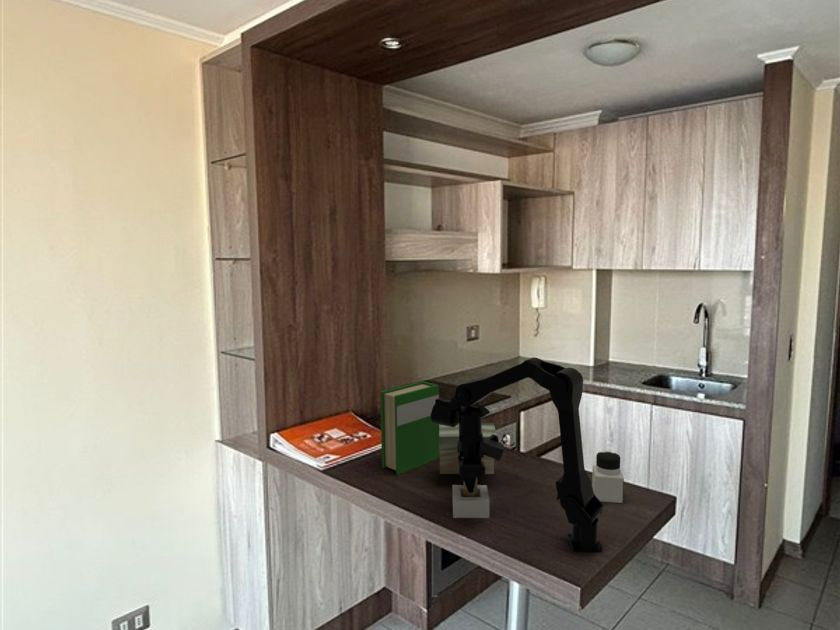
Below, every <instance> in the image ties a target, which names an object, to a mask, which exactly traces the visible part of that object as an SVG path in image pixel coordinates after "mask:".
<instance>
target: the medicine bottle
mask: <svg viewBox="0 0 840 630" xmlns="http://www.w3.org/2000/svg"><path fill="white" fill-rule="evenodd" d="M595 459H596V460H595V465H592V473H591V475H592V479H591V480H592V481H591V484H592V488H593V491H594V494H595V496H596V497H597V498H598V499H599V500H600V502H601V503H602V502H604V503H615V504H623V503H624V486H625V485H624V483H625V482H624V481H625V480H624V479H625V478H624V475H623V473H622V470H621V456H620V454H618V453H616V452H613V451H610V450H604V451H603V450H602V451H600V452H598V453H596V458H595Z"/></svg>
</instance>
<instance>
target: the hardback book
mask: <svg viewBox="0 0 840 630" xmlns="http://www.w3.org/2000/svg"><path fill="white" fill-rule="evenodd" d="M379 392H380V394H379V395H380V433H381V434H380V436H381V437H380V438H381V439H380V440H381V468H382V467H387V468H389V469H392V470H394V471H395V474H396V475H397V474H399V475H401V474H400V473H402V474H404V473H407V472H408V470H409V471H412V470H414V469H413V468H415V469H416V467H417V468H419V466H420V467H422V466H424V465H423V464H425V465H426V463H427V464H429V463H428V462H430V461H432V460H435V459H437V458H439V459H440V451H439V426H440V424H435V423H433V422H432V420H431V412H432V408H433V406H434V405H435V400H436V399H438V398H440V385H438V384H435V383H433V382H432V383H431V382H428V381H427V382H426V381H424V380H422V381H417V382H415V383H410V384H406V385H403V386H398V387H394V388H389V389H386V390H382V391H379ZM437 460H438V459H437ZM435 461H436V460H435ZM432 462H433V461H432ZM430 463H431V462H430ZM411 469H412V470H411ZM406 471H407V472H406ZM403 472H404V473H403Z"/></svg>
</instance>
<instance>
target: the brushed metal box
mask: <svg viewBox="0 0 840 630" xmlns="http://www.w3.org/2000/svg"><path fill="white" fill-rule="evenodd" d="M482 433H483V437H484V438H487V437H488V438H489V437H490V436H491V435H492V434H494V435H497V436H498V434H497V430H496V426H495V423H494V422H482ZM458 441H459V424H457V425H456V426H455V427H449V426H445V425H440V424H439V475H459V460H458V456H459V452H458V450H457V442H458ZM481 459H482V460H481V461H482V462H483V463H484V465H485V475H494V474H495V459H494V458H491V457H488V456H486V455H484V458H481Z"/></svg>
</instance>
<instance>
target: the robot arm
mask: <svg viewBox="0 0 840 630" xmlns="http://www.w3.org/2000/svg"><path fill="white" fill-rule="evenodd" d="M525 379H531V380H532V381H533V382H535V383H536V384H537V385H539V387H541V388H543V389H546V390H548V391H549V394H550V398H551V399H550V400H551V402H552V403H553V405H554V406H555V408H556V410H557V413H558V414H557V415H558V425H559V434H560V444H561V445H560V446H561V455H562V465H563V475H561V476H560V477H559V478H558V479H557V480H556V481H555V488H556V493H557V494H556V495H557V496H556V501H558V500H559V505H560V507H561V509H563V510H564V512H565V515H566V518H567V522H568V524H571V533H567V534H566V535H567V536H566V538H567V539H568V541H569V542H568V543H569V544H570V547H571V549H572V551H574V552H603V550H604V549H603V546H602V544H601V543H600V540H599V518H598V517H599V516H600V515H601V514H602V513H603V509H604V507H605V506H604V504H603V503H602V502H601V501H600V500H599V499H598V498H597V497H596V496H595V494H594V491H593V488H592V481H591V480H592V479H591V478H590V476H589V475H588V473H587V471H586V469H585V461H584V460H585V459H584V451H583V450H584V449H583V440H582V428H581V419H580V410H579V409H580V404H581V400H582V396H583V388H584V378H583V375H582V373H581V372H580V371H578V370H577V369H576V368H573V367H565V366H562V365H560V364H556V363H553V362H548V361H545V360H542V359H540V358H538V357H530V358H527V359H526V360H524V361H522V362H521V363H519V364H517V365H514V366H512V367H509V368H507V369H506V370H503V371H500V372H498V373H496V374H493V375H491V376H490V375H489V376H484V377H480V378H479V377H478V378H473V379H471V380H468V381H466V382H464V383H461V384H459V385H458V386H456V388H455V391H454V393H455V394H454V395H453V397H452V398H451V400H450V399H446V398H443V397H439V398H438V399H436V400H435V405H434V406H433V408H432V412H431V420H432V422H433V423H435V424H439V426H440V425H445V426H449V427H455V426H456V425H457V424H459V441H458V442H457V450H458V452H459V456H458V460H459V474H458V476H459V477H461V478H462V480H463V484H464V483H465V485H466V487H467V490H468V492H469V493H473V491H474V486H475V482H476V478H477V479H478V478H483V477H484V478H485V477H486V474H485V465H484V463H483V462H482V461H481V460H482V459H481V458H484V455H486V456H488V457H491V458H494V461H495V460H496V461H497V462H501V460H502V457H503V456H504V453H505V450H506V448H505V445H504V444H503V443H502V442H501V441H499V437H498V434H497V435H494V434H492V435H491V436H490V437H489V438H488V437H487V438H484V437H483V433H482V423H483V419H482V418H484V417H486V416H488V415H489V414H490V413H491V412H490V410H489V409H488V408H487V407H486V406H485V405H484V404H481V405H478V406H474V405H475V404H478V403H479V402H482V401H483V400H484V399H486V398H487V397H488V396H490V395H492V394H493V393H494V392H495V391H497V390H501V389H503V388H506V387H507V386H511V385H513V384H515V383H518V382H520V381H522V380H523V381H524V380H525Z"/></svg>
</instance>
